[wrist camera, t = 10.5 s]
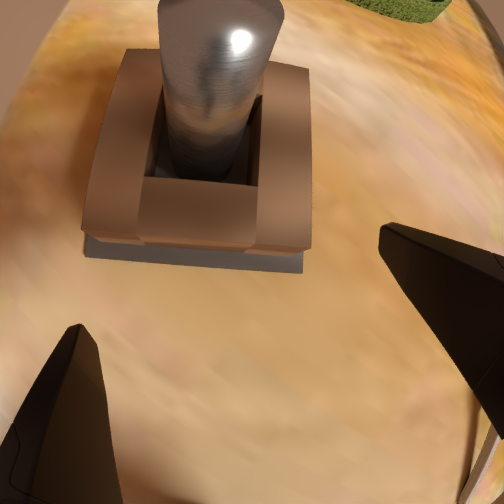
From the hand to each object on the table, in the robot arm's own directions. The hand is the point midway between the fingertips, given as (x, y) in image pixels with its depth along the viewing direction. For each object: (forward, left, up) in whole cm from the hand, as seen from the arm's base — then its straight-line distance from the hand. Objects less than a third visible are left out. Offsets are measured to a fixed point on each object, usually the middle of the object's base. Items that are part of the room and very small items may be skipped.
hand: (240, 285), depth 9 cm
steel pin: (+8, +1, -11) cm, 14 cm away
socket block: (+8, +1, -12) cm, 14 cm away
